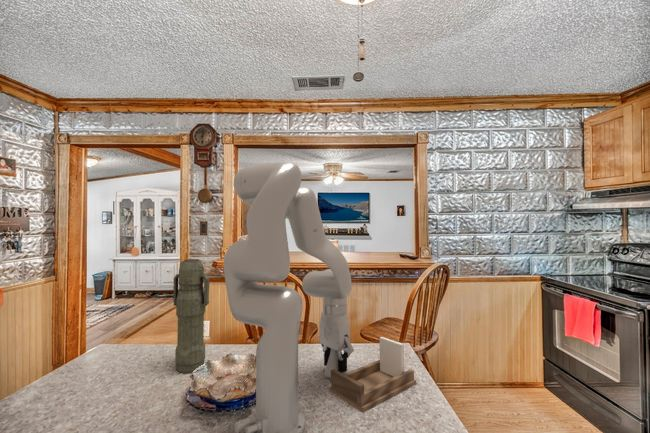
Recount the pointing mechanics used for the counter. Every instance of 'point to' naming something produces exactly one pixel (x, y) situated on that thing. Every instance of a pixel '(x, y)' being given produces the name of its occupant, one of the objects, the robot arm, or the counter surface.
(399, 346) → the rectangular block
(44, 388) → the counter surface
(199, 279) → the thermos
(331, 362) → the flask
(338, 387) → the wooden crate tray
